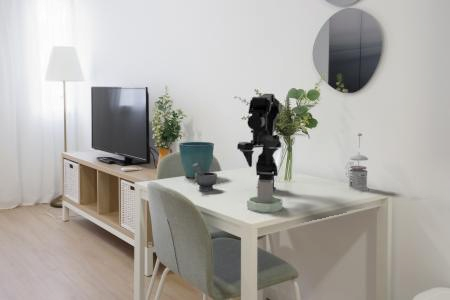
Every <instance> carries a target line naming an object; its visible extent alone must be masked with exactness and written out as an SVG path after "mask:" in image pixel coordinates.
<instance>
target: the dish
mask: <svg viewBox="0 0 450 300" xmlns="http://www.w3.org/2000/svg"><path fill="white" fill-rule="evenodd" d="M283 203H284V199H283V198H280V197H276V196H274V195H273V203H272V204H261V203H257V195H256V196H251V197H250V196H249V197H248V199H247V200H246V208H247V209H248V210H249V211H251V212H252V211H253V212H257V213H275V212H280V211H281V210H283V205H284V204H283Z"/></svg>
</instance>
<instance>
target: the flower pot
mask: <svg viewBox="0 0 450 300" xmlns="http://www.w3.org/2000/svg"><path fill="white" fill-rule="evenodd" d="M178 146H179V147H178V149H179V156H180V158H179V159H180V162H181V165H182V167H183V168H182V169H183V171H184V176H185V177H187V178H190V179H191V178H193V179H195V174H196V171H195V169H194V168H193V165H194V164H196V163H198V164H199V167H200V169H201V170H202V172H210V169H211V166H212V162H213V158H214V148H215V147H214V146H215V143H214V142H209V141H185V142H179V143H178Z"/></svg>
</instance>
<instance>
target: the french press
mask: <svg viewBox="0 0 450 300" xmlns="http://www.w3.org/2000/svg"><path fill="white" fill-rule="evenodd" d="M362 136H363V134H362V133H360V132H359V133H357V137H359V138H358V147H361V146H360V144H361V143H360V141H361V137H362ZM349 160H352V162H351V161H349V162H348V163H347V164H346V167H345V168H347V173H345V175H346V177H347V178H348V186H347V187H345V188H346V190H347V189H348V190H352V191H357V192H359V191H360V192H361V191H363V192H364V191H369V188H368V183H367V182H368V180H367V179H368V170H366V169H367V167H366V166H364V165H363V166H362V165H359V164H360V161H368V160H369V158H368V157H367V156H365V155H363V154H360V153H358V154H354V155H352V156H349ZM353 161H357V162H358V164H357V165H354V162H353ZM348 164H349V166H348ZM347 166H348V167H347Z"/></svg>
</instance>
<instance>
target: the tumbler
mask: <svg viewBox="0 0 450 300" xmlns="http://www.w3.org/2000/svg"><path fill="white" fill-rule="evenodd" d="M257 187H258V188H257V194H256V196H257V203H261V204H272V203H273V196H274V191H273V190H274V189H273V180H257Z"/></svg>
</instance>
